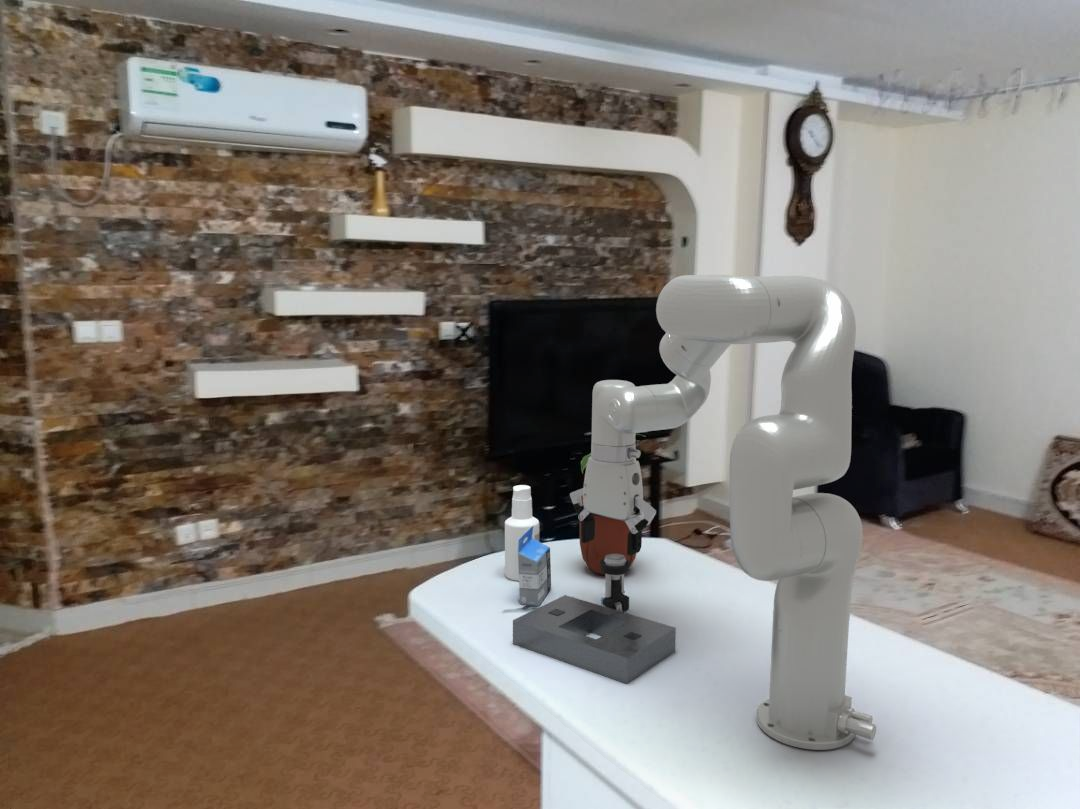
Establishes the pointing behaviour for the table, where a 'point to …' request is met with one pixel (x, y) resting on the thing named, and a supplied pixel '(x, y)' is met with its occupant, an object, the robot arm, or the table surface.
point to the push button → (615, 582)
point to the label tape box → (533, 570)
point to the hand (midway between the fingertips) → (610, 547)
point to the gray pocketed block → (614, 655)
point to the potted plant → (605, 537)
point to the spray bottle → (518, 528)
